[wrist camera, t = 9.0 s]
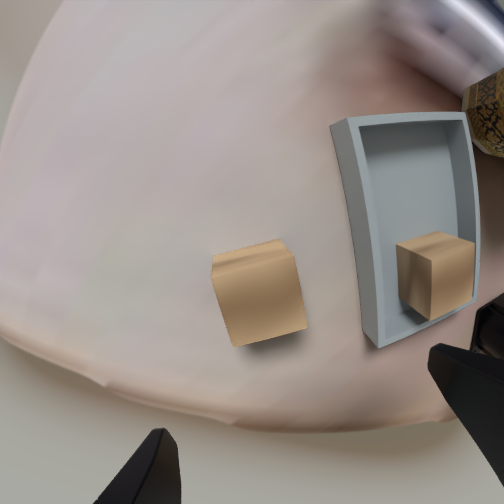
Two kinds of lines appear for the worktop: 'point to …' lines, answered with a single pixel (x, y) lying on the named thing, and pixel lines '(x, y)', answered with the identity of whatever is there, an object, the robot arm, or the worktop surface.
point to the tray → (404, 203)
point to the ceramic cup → (486, 113)
